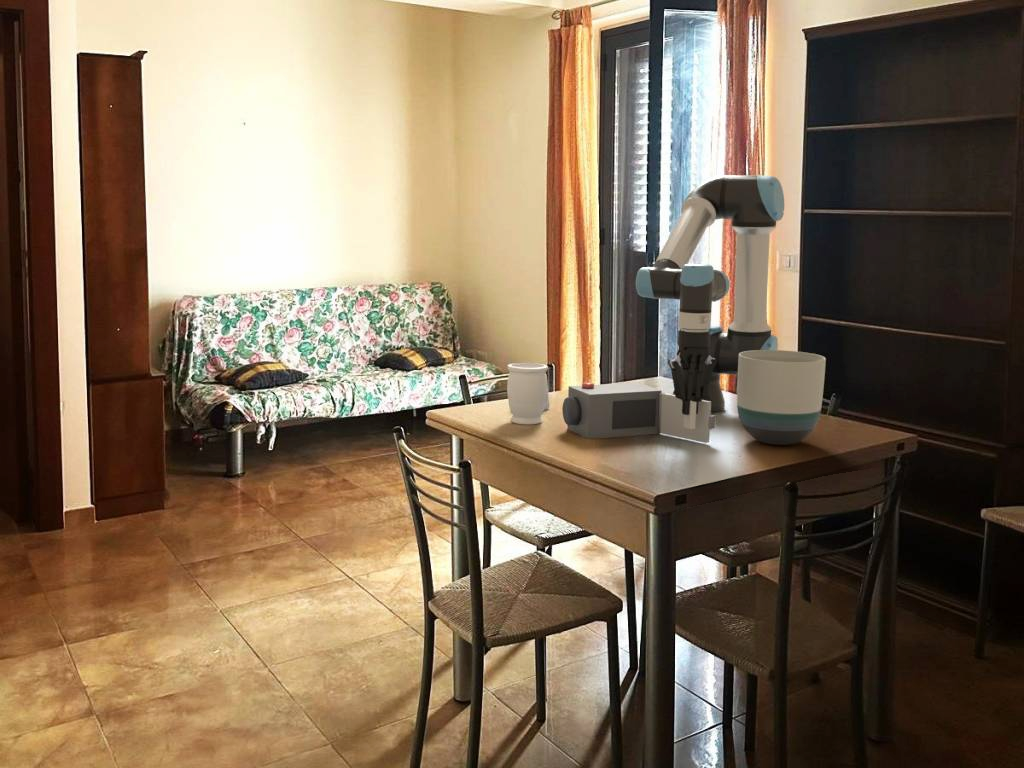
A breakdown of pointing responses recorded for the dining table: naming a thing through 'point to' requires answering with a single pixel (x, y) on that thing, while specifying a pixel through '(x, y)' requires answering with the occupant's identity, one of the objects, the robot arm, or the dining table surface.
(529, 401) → the jar
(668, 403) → the door
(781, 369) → the planter
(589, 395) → the camera body
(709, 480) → the dining table surface
